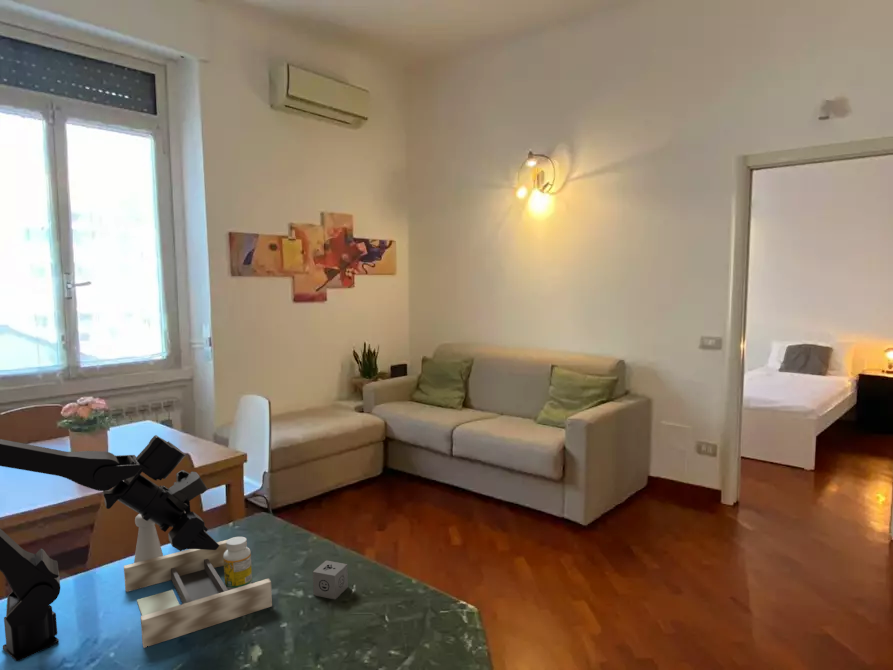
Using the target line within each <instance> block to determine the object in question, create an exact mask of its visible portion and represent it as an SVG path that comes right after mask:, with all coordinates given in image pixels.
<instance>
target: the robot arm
mask: <svg viewBox="0 0 893 670" xmlns="http://www.w3.org/2000/svg"><path fill="white" fill-rule="evenodd" d="M186 456H187V455H186V453H185V452H183V451H182V450H181V449H180V448H179V447H177V446H176V445H174V444H173V443H172V442H170V441H167V440H165V439H164V438H161V436H160V437H159V436H158V435H157V434H155V435H154V436H153V437H152V438H151V439H150V441H149V442H148V443H147V445H146V446H145V447H144V448H143V449H142V450H141V452H140V453H139V454H138V455H137V456H136V455H135V454H123V455H119V454H118V455H115V454H113V453H112V452H109V451H104V450H103V451H101V450H100V451H99V450H82V451H65V450H59V449H54V448H53V449H52V448H49V447H45V446H39V445H34V444H33V445H32V444H28V443H22V442H19V441H11V440H8V439H7V440H6V439H2V438H0V467H3V468H4V467H5V468H8V469H9V468H11V469H15V470H21V471H28V472H34V473H40V474H44V475H45V474H46V475H51V476H56V477H57V476H58V477H61V478H64V479H67V480H70V481H71V482H73V483H75V484H78V485H80V486H83V487H86V488H89V489H92V490H95V491H98V492H102V495H103V498H104V499H103V501H104V506H105V508H106V509H107V510H110V509H111V508H112V507H113V506H114V505H115V504H116V502H117V501H118V502H120V503H121V504H122V505H125V506H126V507H128V508H129V509H131V510H133V511H134V512H136V513H137V514H141V516H142V518H143V519H144V520H146V521H148V520H150V521H152V522H154V523H155V525H157V526H158V527H159V529H160V530H161V531H162V532H164V533H166V532H167V531H168V530H169V528H171V529H170V531H169V532H168V541H169V543H170V545H171V546H172V548H174V549H176V550H178V552H180V551H184V550H188V549H204V550H216V549H217V548H218V547H219V544H218V543H217V542H218V541H216V540H215V539H214V538H213V537H212V536H211V535H210V534H209V533H208V532H207V531H208V527H207V526H206V525H205V524H206V523H205V521H204V520H203V518H202V517H201V516H199V514H197V513H196V512H194V511H191V502H190V501H191V500H193V499H195V498H197V496H199V495H203V494H205V492H206V491H207V490H208V487H207V485H206V484H205V483H204V481H203V479H202V478H201V476H200V475H199V474H198V472H196V471H190V472H189V471H186V470H184V469H181V470H180V471H178V472H177V473H176V474H175V477H176V478H175V480H176V481H174V482H173V485H172V486H170V487H169V488H168V487H167V486H165V485H158V484H156V483H155V482H154V481H156V482H157V481H158V480H159V481H162V480H163V479H164V480H165V479H167V478H168V477H169V475H170V474H171V473H172V472H173V471H174V469H176V467H177V466H178V465H179V464H180V463H181V462H182V460H183V459H184V458H185V457H186ZM142 473H143V474H144V475H146V476H144V475H142ZM147 476H148V477H149V478H150V479H151V480H154V481H151V480H150V479H149V478H146V477H147ZM58 564H59V563H58V560H55V559H53V558H52V557H50V556H49V555H48V554H47V553H46V551H45V550H44V549H43V548H39V550H38V551H37V552H36V553H33V552H30V551H27V550H25V549H23V547H21V546H20V545H19V544H18V543H17V542H15V540H14V539H12V537H10V536H9V535H8V534H7V533H6V532H5V531H4V530H3V529H2V528H0V573H2V574H3V576H4V577H5V580H6V581H7V583H8V585H9V587H10V589H11V592H10V593H9V594H8V595H7V597H6V614H5V616H4V617H3V623H4V634H5V635H4V636H5V644H3V645H2V650H3V651H4V652H5V653H6V654H8V655H9V656H10V657H11V658H12V659H13V660H14V661H15V662H19V661H22V660H25V659H26V658H28V657H30V656H33V655H35V654H37V653H39V652H41V651H44V650H45V649H48V648H50V647H53V646H55V645H57V644H58V643H60V639H59V638H57V637H56V636H57V635H58V626H57V625H58V624H57V614H56V612H54V611H53V606H52V605H51V604H53V603H54V602H55V601H56V600H57V599H58V597H59V595H60V591H61V579H60V572H59V565H58Z"/></svg>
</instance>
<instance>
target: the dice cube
mask: <svg viewBox="0 0 893 670" xmlns="http://www.w3.org/2000/svg"><path fill="white" fill-rule="evenodd" d="M348 573H349V571H348V564H347V563H342V562H337V561H332V560H325V561H324V562H322V563H321V564H320V565H319V566H318V567H316V568H315V569H314V570H313V571H312V586H313V587H312V589H313V596H315V597H316V596H317V597H322V598H327V599H331V600H337V599H338V597H340V596H341V594H342V593H344V592H345V591H346V590H347V589H348V588H349V584H348V583H349V580H348V578H349V577H348V576H349V575H348Z"/></svg>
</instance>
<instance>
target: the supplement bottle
mask: <svg viewBox="0 0 893 670" xmlns="http://www.w3.org/2000/svg"><path fill="white" fill-rule="evenodd" d="M226 540H227V542H226V548H227V550H226V551H225V553H224V556H223V559H224V565H223V572H224V573H223V574H224V585H225V586H226V588H227V589H228V590H231V589H235V588H238V587H241V586H245V585H248V584H252V583H253V573H252V572H253V571H252V551H251V549H250V548H249V547H248V546H247V545H248V541H247V537H244V536H234V537H230V538H229V539H226Z"/></svg>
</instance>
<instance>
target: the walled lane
mask: <svg viewBox="0 0 893 670" xmlns="http://www.w3.org/2000/svg"><path fill="white" fill-rule="evenodd" d="M227 540H228V539H225V540H224V539H223V540H221V541H216V542H217V543H218V544H219V547H218V548H217V549H216V550H204V549H185V550H182V551H177V552H173V553H169V554H166V555H163V556H161V557H157V558H153V559H149V560H145V561H141V562H137V563H134V562H133V563H130V564H125V565H123V573H124V575H123V576H124V590H125V592H126V593H128V592H132V591H135V590H139V589H143V588H146V587H150V586H154V585H157V584H161V583H165V582H169V581H171V582H172V584H173V587H174V589H175V590H176V592H177V595H178V596H179V599H180V601H181V603H182V604H180V602H179V601H178V599H177V598H178V597H177V596H176V594H175V592H174V590H173V589H170V590H167V591H162V592H159V593H156V594H153V595H149V596H145V597H142V598H138V599H136V603H137V605H138V606H137V607H138V609H139V612H140V615H141V616H140V628H141V640H142V641H141V643H142V646H143V648H144V649H145V648H147V646H148V647H150V646H154V645H158V644H160V643H162V642H166V641H170V640H172V639H175V638H179V637H181V636H185V635H188V634H190V633H194V632H197V631H200V630H203V629H207V628H210V627H213V626H215V625H218V624H222V623H224V622H228V621H230V620H234V619H237V618H240V617H243V616H246V615H249V614H252V613H255V612H259V611H261V610H265V609H267V608H270V607H273V601H272V599H273V598H272V597H273V595H272V581H271V579H270V578H269V577H268V578H265V579H262V580H258V581H256V582H252V583H251V584H248V585H245V586H241V587H238V588H235V589H231V590H228V589H227V588H226V586H225V582H224V581H223V580H222V579H221V577H220V575H219V574H218V571H217V570H216V568H220V567H224V559H223V556H224V553H225V551H226V550H227V548H226V542H227Z"/></svg>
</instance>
